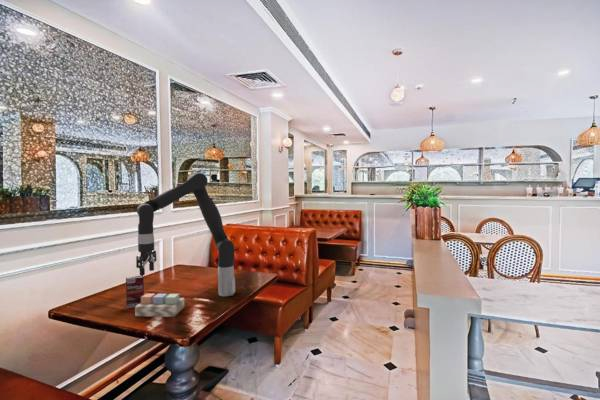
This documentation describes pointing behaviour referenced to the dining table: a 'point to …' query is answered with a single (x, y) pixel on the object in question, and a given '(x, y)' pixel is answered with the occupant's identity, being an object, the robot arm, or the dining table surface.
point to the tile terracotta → (147, 299)
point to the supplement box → (134, 290)
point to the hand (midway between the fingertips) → (147, 272)
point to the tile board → (159, 309)
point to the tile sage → (172, 299)
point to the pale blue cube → (159, 299)
